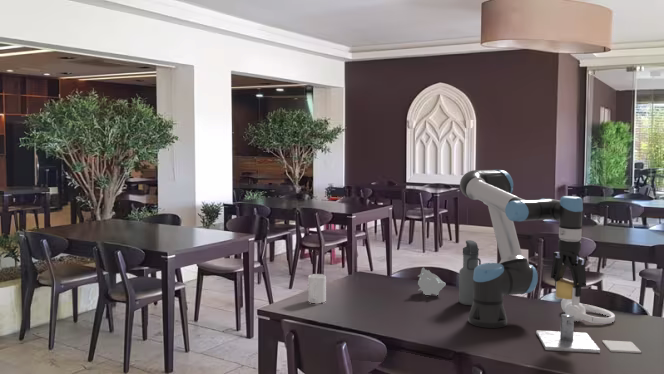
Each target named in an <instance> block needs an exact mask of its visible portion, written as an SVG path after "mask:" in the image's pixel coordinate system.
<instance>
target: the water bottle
mask: <svg viewBox="0 0 664 374" xmlns="http://www.w3.org/2000/svg"><path fill="white" fill-rule="evenodd" d="M465 244H466V246H464V247H463V248H462V255H463V256H462V268H460V270H459V271H458V273H459V276H458V280H459V281H458V302H459V303H460V304H461V305H464V306H470V307H472V304H473V276H474V269H475V268H476V267H477V266H478V265H481V264H482V260H481V259H480V258H479V255H480V254H479V251H480V250H479V246H478V243H477V242H476V241H475V240H468V239H467V240H465Z"/></svg>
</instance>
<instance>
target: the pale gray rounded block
mask: <svg viewBox="0 0 664 374" xmlns="http://www.w3.org/2000/svg"><path fill="white" fill-rule="evenodd" d="M307 278H308V280H307V281H308V282H307V286H308V287H307V290H308V291H307V293H308V297H307V299H308V301H309V302H312V303H321V302H325V301H326V302H327V276H326V275H325V274H323V273H312V274H309V275H308V277H307ZM308 301H307V302H308ZM309 302H308V303H309ZM326 302H325V303H326Z"/></svg>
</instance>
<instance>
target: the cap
mask: <svg viewBox="0 0 664 374" xmlns="http://www.w3.org/2000/svg"><path fill="white" fill-rule="evenodd" d="M573 287H574V282H573V280H570V279H568V278H564V277H563V278H560V281H557V287H556V289H555V295H556V296H557V297H559V298H563V299H572V289H573Z"/></svg>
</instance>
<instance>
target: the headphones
mask: <svg viewBox="0 0 664 374" xmlns="http://www.w3.org/2000/svg"><path fill="white" fill-rule="evenodd" d="M560 306H561V309H562V311H563V312H564V314H570V315H573V316H574V322H576V321H577V322H581V321H585V322H589V323H591V324H599V325H603V324H604V325H608V324H613V323H614V322H615V319H616V315H615V313H614V312H612V311H610V310H608V309H605V308H602V307H598V306H595V305H592V304H591V305H590V304H585V303H581V302H579V305H575V306H573V305H572V299H561V301H560ZM587 311H588V312H592V313H595V312H596V314H599V313H600V314H599V315H602V314H603V316H605V315H606V316H605V317H601V316H600V317H598V316H593V315H589V314H587ZM607 316H609V317H607ZM612 322H613V323H612Z"/></svg>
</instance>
